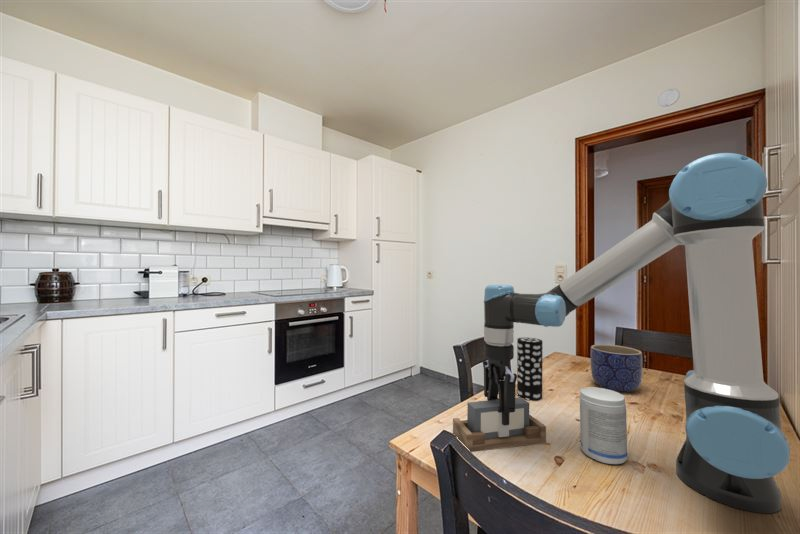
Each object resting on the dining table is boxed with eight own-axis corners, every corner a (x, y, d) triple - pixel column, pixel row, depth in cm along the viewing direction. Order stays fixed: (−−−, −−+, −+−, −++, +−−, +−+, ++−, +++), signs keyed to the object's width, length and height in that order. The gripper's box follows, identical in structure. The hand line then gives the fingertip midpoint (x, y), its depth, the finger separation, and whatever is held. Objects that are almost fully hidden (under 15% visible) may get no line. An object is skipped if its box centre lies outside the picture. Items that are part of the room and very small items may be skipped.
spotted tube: (544, 395, 115) (544, 339, 115) (540, 402, 108) (540, 343, 108) (520, 390, 119) (520, 336, 120) (514, 397, 112) (515, 340, 112)
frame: (529, 433, 84) (529, 402, 85) (474, 440, 80) (474, 408, 80) (519, 426, 88) (520, 397, 88) (467, 432, 84) (467, 402, 84)
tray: (545, 442, 82) (546, 426, 82) (466, 452, 78) (466, 434, 78) (525, 426, 91) (525, 411, 91) (452, 433, 86) (453, 418, 86)
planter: (654, 396, 114) (653, 354, 115) (607, 395, 114) (607, 354, 115) (622, 380, 131) (622, 344, 131) (582, 380, 131) (581, 343, 131)
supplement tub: (637, 463, 74) (637, 399, 74) (603, 469, 71) (603, 403, 72) (602, 441, 83) (601, 385, 83) (570, 446, 81) (570, 387, 81)
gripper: (531, 349, 77) (531, 447, 77) (495, 336, 94) (494, 415, 94) (503, 351, 76) (503, 450, 75) (471, 337, 92) (471, 418, 92)
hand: (498, 431), depth 84 cm, fingers closed on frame, 4 cm apart
